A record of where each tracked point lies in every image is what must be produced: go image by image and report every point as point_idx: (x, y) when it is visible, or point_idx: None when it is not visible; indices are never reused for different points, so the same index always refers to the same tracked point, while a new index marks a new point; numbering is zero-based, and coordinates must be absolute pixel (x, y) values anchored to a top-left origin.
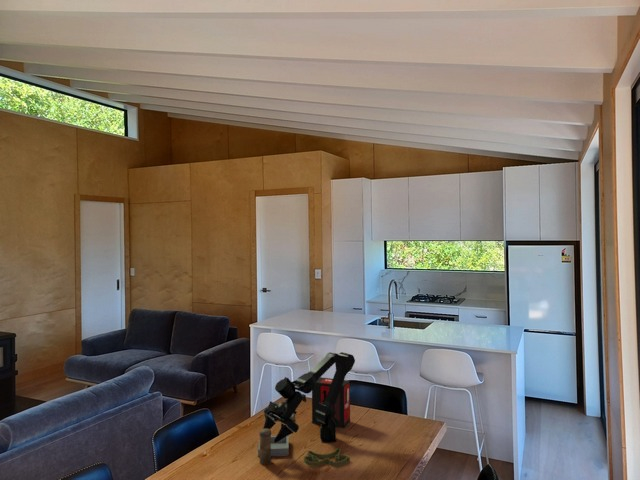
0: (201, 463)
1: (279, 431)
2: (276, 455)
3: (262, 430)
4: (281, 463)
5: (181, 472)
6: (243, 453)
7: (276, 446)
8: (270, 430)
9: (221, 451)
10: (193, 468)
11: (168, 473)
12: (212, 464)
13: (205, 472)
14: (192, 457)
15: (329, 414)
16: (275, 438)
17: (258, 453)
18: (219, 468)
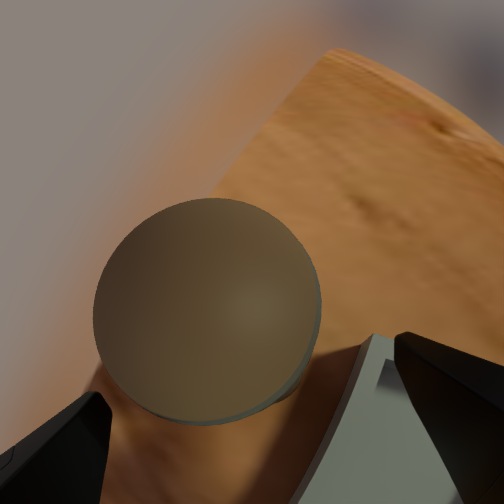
0: (373, 107)
1: (12, 466)
2: (310, 464)
3: (230, 251)
4: (193, 449)
5: (325, 68)
6: (434, 269)
7: (423, 488)
8: (137, 398)
9: (468, 182)
10: (341, 87)
11: (330, 54)
12: (354, 129)
13: (295, 106)
14: (424, 100)
15: None
16: (74, 409)
17: (365, 343)
18: (306, 142)
